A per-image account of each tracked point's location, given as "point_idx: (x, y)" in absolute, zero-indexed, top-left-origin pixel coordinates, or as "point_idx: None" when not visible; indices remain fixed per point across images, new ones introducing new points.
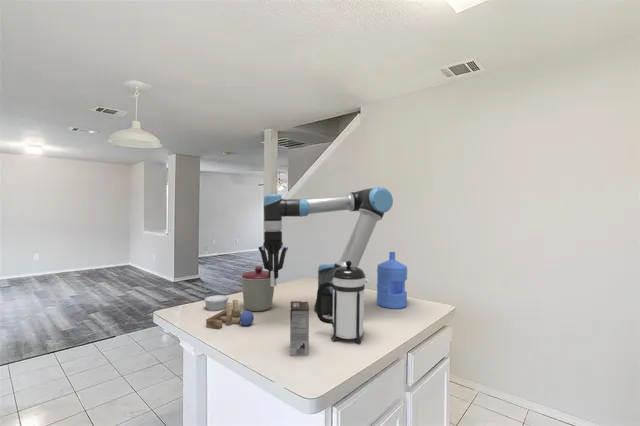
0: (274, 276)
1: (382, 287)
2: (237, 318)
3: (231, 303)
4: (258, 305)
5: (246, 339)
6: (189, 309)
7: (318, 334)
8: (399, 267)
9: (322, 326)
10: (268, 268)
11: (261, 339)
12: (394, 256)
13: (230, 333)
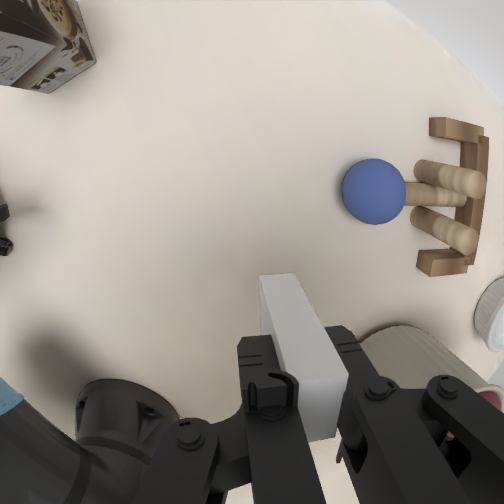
0: (275, 350)
1: None
2: (410, 193)
3: (471, 191)
4: (379, 342)
5: (285, 44)
6: None
7: (45, 196)
8: None
9: (65, 276)
10: (400, 399)
11: (226, 60)
12: None
13: (375, 86)
